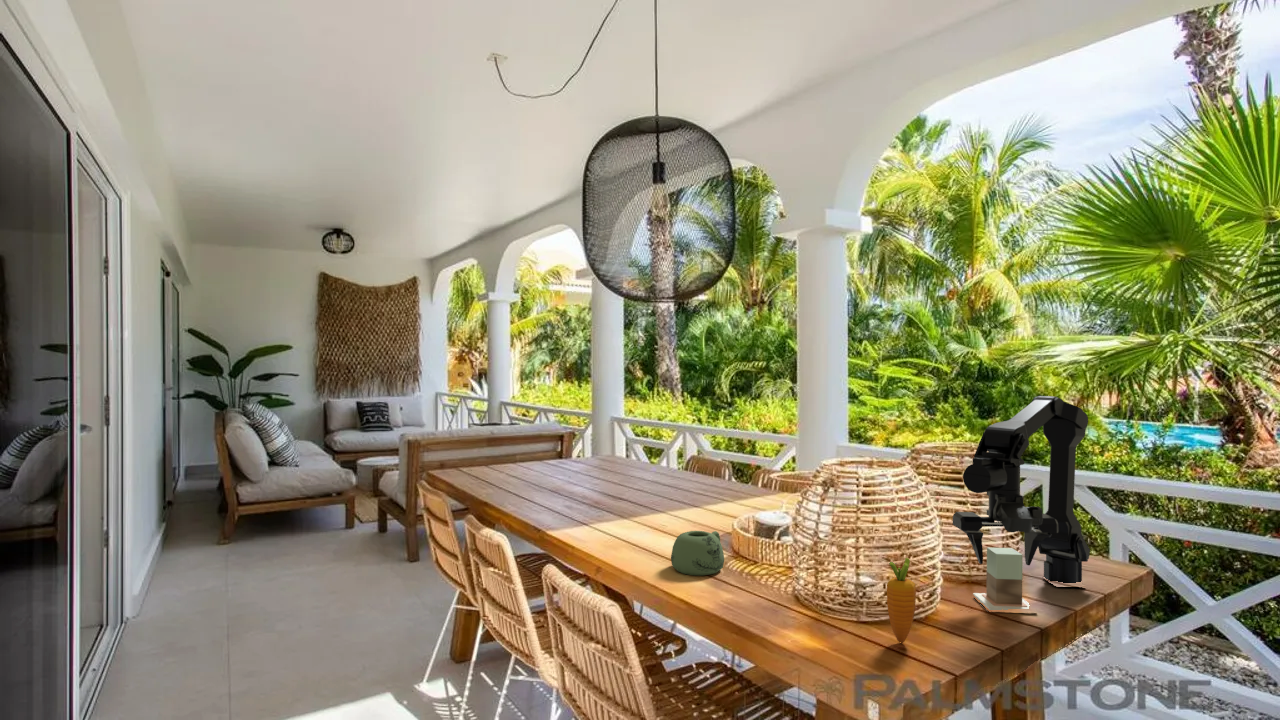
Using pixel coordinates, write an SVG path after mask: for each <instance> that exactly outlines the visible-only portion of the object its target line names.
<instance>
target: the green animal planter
mask: <svg viewBox="0 0 1280 720" xmlns="http://www.w3.org/2000/svg"><path fill="white" fill-rule="evenodd" d="M670 560H671V566H672V568H674V569H675V571H677V572H678V573H681V574H683V575H689V576H701V577H702V576H709V575H715V574H717V573H718V572H719V571H721V570H722V569H723V568H724V563H725V554H724V549H723V545H722V543H721V537H720V533H719V532H718V531H716V530H715V531H712V532H708V531H703V530H690V531H686V532H682V533H680V534H679V535H677V537H676V538H675V540H674V542H673V545H672V550H671V555H670Z"/></svg>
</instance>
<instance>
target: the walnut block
mask: <svg viewBox="0 0 1280 720" xmlns="http://www.w3.org/2000/svg"><path fill="white" fill-rule="evenodd" d="M985 587H986V595H987V596H988V597H989V598H990V599H991V600H992V601H994V602H995V603H996V604H1022V598H1023V579H1022V580H1016V579H996V578H995V577H993V576H992V575H991V574H989V573H988V572H987V571H986V586H985Z"/></svg>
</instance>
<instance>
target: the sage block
mask: <svg viewBox="0 0 1280 720" xmlns="http://www.w3.org/2000/svg"><path fill="white" fill-rule="evenodd" d="M987 572H988V573H989V574H991V575H992V576H993V577H995V578H996V579H1016V580H1022V581H1023V554H1022V553H1021V552H1019V551H1017V550H1016V549H1014V548H1012V547H986V573H987Z"/></svg>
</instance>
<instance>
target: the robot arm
mask: <svg viewBox="0 0 1280 720" xmlns="http://www.w3.org/2000/svg"><path fill="white" fill-rule="evenodd" d="M1088 425H1089V417H1088V415H1087V413H1086V412H1085V411H1083V409H1082V407H1081V408H1080V407H1078V406H1077V405H1074V404H1072V403H1069V402H1066V401H1064V400H1063V399H1062V398H1060V397H1058V396H1051V395H1050V396H1049V395H1046V396H1045V395H1038V396H1035V397H1033V398H1032V400H1031V402H1030V403H1029V404H1028V405H1027V406H1025V407H1024V408H1022V409H1021V410H1020V411H1019V412H1017V413H1016V414H1015V415H1014V416H1013V417H1011V418H1009V419H1008V420H1004V421H1000V422H995V423H993V424H990V425H988V426H987V427H986V428H985V430H984V432H983V433H982V436H981V438H980V440H979V444H978V445H977V448H976V451H975V453H974V456H973V458H972V464H970V465H968V466H967V467H966V468H965V469H964V472H963V474H962V479H963V480H962V481H963V483H964V485H965V486H966V487H965V488H967V489H968V490H969V491H970V492H972V493H974V494H983V493H986V496H987V497H988V509H986V515H987V516H980V515H979V514H977V513H975V512H973V511H955V512H954V513H953V516H952V525H953V526H954V527H955V528H957V529H959V530H960V531H962V532H963V533H965V535H966V536H967V538H968V540H969V542H970V544H971V547H972V549H973V552H974V554H975V557H976V559H977V562H978V564H980V565H983V564H984V553H983V550H984V549H983V537H984V532H982V531H981V529H982V528H983V527H1000V528H1002V527H1003V528H1004V530H1005V531H1006V532H1008V533H1017V532H1020V533H1021V532H1022V533H1023V532H1024V533H1023V535H1024V537H1023V539H1024V540H1023V541H1024V561H1025V565H1027V566H1031V563H1032V561H1033V560H1034V557H1035V554H1036V553H1037V550H1038V552H1039V554H1040V555H1045V560H1044V561H1043V577H1045V578H1046V579H1048V580H1050V581H1058V582H1063V583H1076V582H1081V581H1082V582H1083V562H1085V563H1087V562H1088V561H1089V559H1090V552H1091V550H1090V547H1089V545H1088V543H1087V542H1086V540H1085V539H1084V537H1083V535H1082V524H1081V523H1080V521H1079V520H1078V518H1077V517H1076V515H1075V514H1074V504H1075V503H1074V501H1075V481H1076V479H1075V478H1076V477H1075V476H1076V475H1075V474H1076V453H1077V452H1076V451H1077V447H1078V445H1079V444H1080V443H1081V442H1082V440H1084V438H1085V436H1086V431H1087V430H1086V429H1087V427H1088ZM1041 427H1042V432H1043V434H1044V436H1045V439H1046V440H1047V441H1048V443H1049V444H1050V445H1049V446H1050V457H1049V477H1048V478H1049V481H1048V505H1047V506H1048V507H1047V510H1046V512H1045V513H1043V509H1042V508H1041V506H1026V505H1025V504H1024V497H1023V496H1024V495H1022V494H1021V466H1023V465H1025V461H1024V459H1022V458H1021V457H1022V455H1023V454H1024V453H1025V451H1026V450H1027V449H1028V447H1029V446H1030V440H1029V438H1030V437H1032V435H1034V433H1035V432H1037V431H1038V430H1039V429H1040V428H1041Z"/></svg>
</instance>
